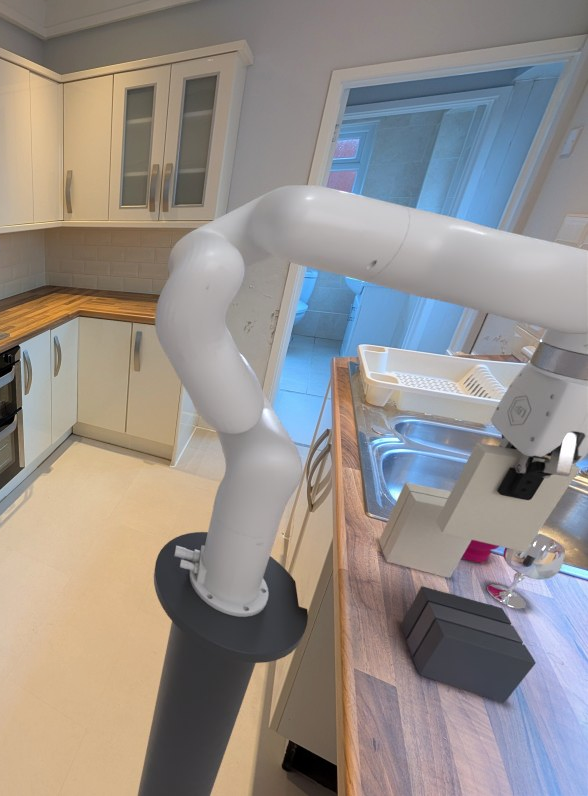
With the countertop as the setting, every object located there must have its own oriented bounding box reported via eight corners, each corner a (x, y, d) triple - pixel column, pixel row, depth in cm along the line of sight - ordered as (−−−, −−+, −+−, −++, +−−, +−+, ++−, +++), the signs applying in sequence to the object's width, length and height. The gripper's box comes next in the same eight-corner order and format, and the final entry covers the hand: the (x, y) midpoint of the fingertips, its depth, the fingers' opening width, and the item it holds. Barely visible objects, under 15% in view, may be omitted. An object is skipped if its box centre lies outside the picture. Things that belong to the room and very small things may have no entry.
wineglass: (473, 578, 73) (505, 525, 68) (512, 584, 72) (548, 531, 67) (498, 608, 68) (535, 553, 63) (541, 615, 67) (583, 560, 61)
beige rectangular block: (386, 561, 76) (415, 500, 70) (378, 541, 81) (405, 481, 75) (449, 578, 73) (486, 515, 67) (437, 555, 77) (470, 495, 71)
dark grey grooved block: (418, 675, 59) (443, 635, 55) (400, 624, 65) (421, 585, 62) (504, 703, 55) (536, 663, 52) (475, 647, 62) (502, 607, 58)
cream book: (442, 532, 61) (485, 452, 55) (435, 521, 63) (476, 442, 57) (525, 552, 58) (580, 468, 52) (515, 539, 60) (567, 458, 54)
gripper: (502, 337, 57) (447, 451, 65) (581, 384, 44) (499, 520, 52) (578, 345, 55) (511, 462, 62) (687, 397, 41) (585, 539, 49)
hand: (507, 487), depth 57 cm, fingers closed on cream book, 2 cm apart
